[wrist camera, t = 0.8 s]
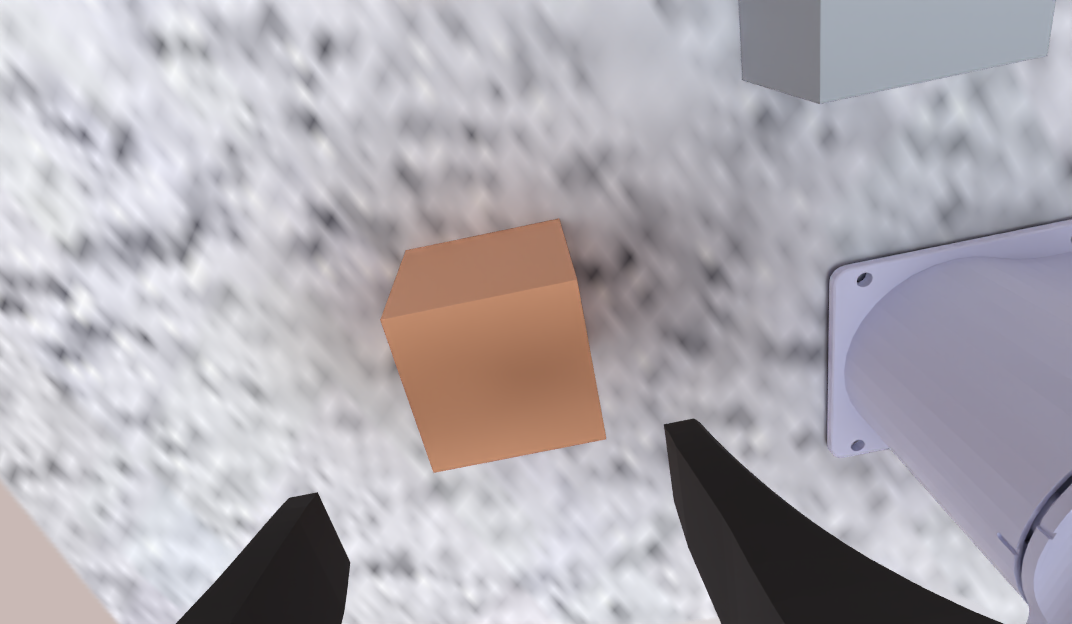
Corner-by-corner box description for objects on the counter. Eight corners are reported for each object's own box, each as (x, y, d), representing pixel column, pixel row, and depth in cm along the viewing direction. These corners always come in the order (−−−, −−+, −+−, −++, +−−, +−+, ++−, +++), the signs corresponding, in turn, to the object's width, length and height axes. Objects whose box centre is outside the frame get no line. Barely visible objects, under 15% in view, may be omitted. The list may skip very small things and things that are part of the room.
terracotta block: (558, 217, 20) (576, 279, 15) (583, 351, 22) (606, 439, 18) (405, 249, 20) (380, 320, 16) (446, 378, 22) (433, 472, 18)
